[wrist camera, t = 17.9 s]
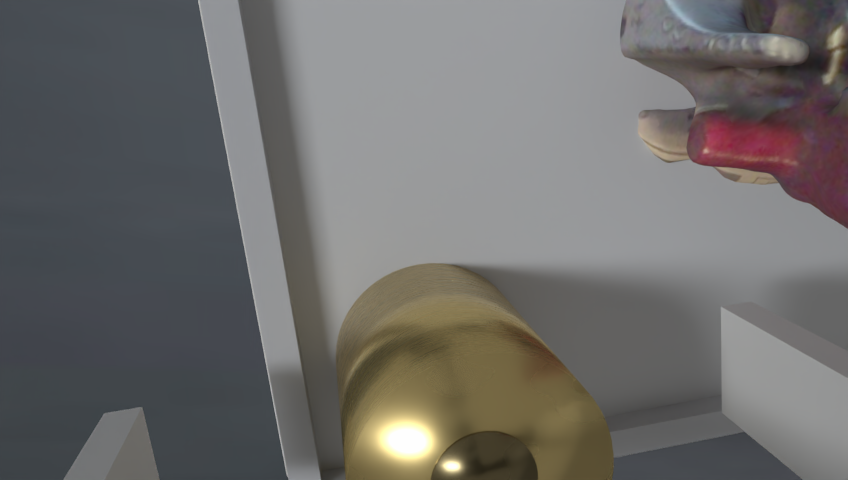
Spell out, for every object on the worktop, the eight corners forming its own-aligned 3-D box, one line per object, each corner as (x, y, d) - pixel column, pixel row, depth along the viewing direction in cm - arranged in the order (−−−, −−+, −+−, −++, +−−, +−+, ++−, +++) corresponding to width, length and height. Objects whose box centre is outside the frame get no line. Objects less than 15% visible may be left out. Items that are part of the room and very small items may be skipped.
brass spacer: (349, 454, 19) (367, 626, 13) (321, 279, 17) (327, 381, 12) (527, 420, 19) (621, 570, 14) (512, 249, 18) (608, 332, 12)
